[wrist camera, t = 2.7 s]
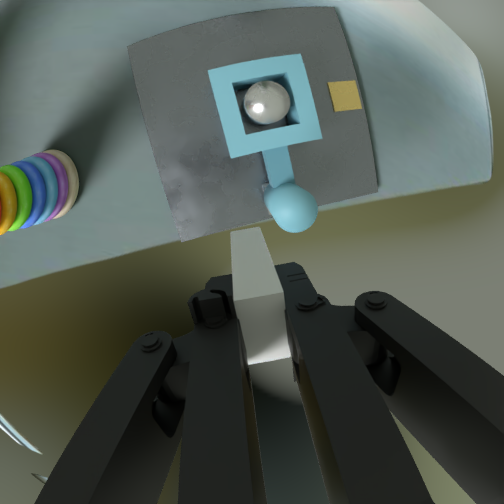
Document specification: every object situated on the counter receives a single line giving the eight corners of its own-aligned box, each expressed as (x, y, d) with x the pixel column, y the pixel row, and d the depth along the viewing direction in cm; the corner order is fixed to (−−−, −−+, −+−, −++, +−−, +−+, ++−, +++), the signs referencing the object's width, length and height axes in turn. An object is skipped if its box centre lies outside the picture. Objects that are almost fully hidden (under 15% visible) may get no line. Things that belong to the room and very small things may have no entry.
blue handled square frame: (247, 222, 28) (253, 244, 23) (210, 81, 22) (206, 64, 17) (321, 204, 28) (343, 220, 23) (289, 65, 22) (306, 47, 17)
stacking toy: (83, 215, 27) (-28, 301, 10) (33, 216, 26) (-72, 287, 9) (81, 145, 24) (-53, 172, 7) (30, 153, 23) (-92, 187, 6)
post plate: (182, 238, 30) (174, 261, 24) (130, 48, 21) (109, 30, 15) (373, 190, 29) (402, 202, 24) (330, 10, 21) (351, -11, 15)
